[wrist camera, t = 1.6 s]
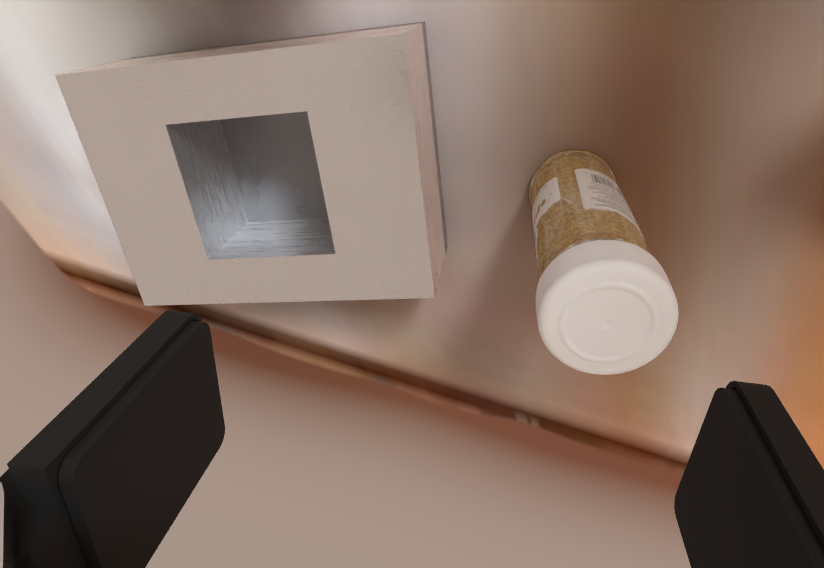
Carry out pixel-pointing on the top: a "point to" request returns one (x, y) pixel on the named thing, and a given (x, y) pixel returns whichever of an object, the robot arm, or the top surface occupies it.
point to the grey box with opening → (270, 168)
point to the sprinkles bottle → (595, 270)
